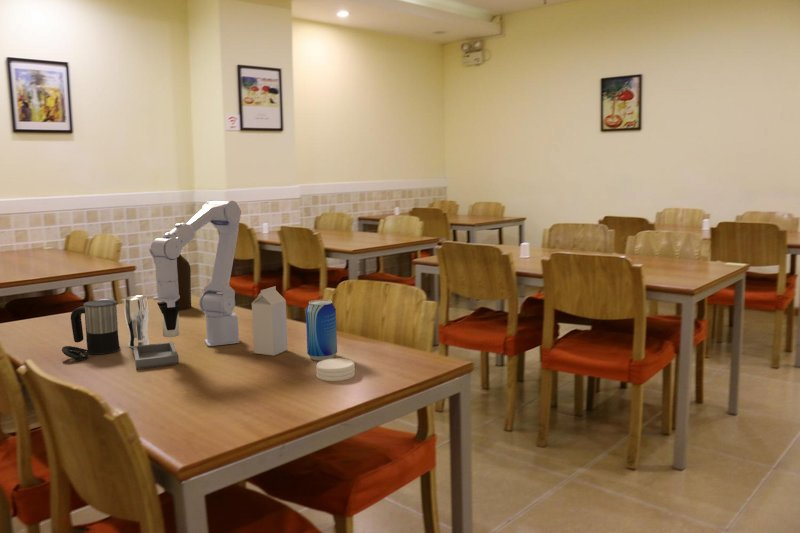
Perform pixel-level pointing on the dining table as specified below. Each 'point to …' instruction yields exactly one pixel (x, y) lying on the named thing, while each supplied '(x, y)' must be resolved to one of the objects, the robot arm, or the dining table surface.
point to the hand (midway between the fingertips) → (170, 328)
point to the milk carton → (269, 323)
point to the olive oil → (184, 282)
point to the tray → (155, 355)
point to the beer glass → (137, 319)
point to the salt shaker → (170, 332)
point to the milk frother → (95, 329)
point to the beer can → (321, 330)
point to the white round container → (335, 369)
